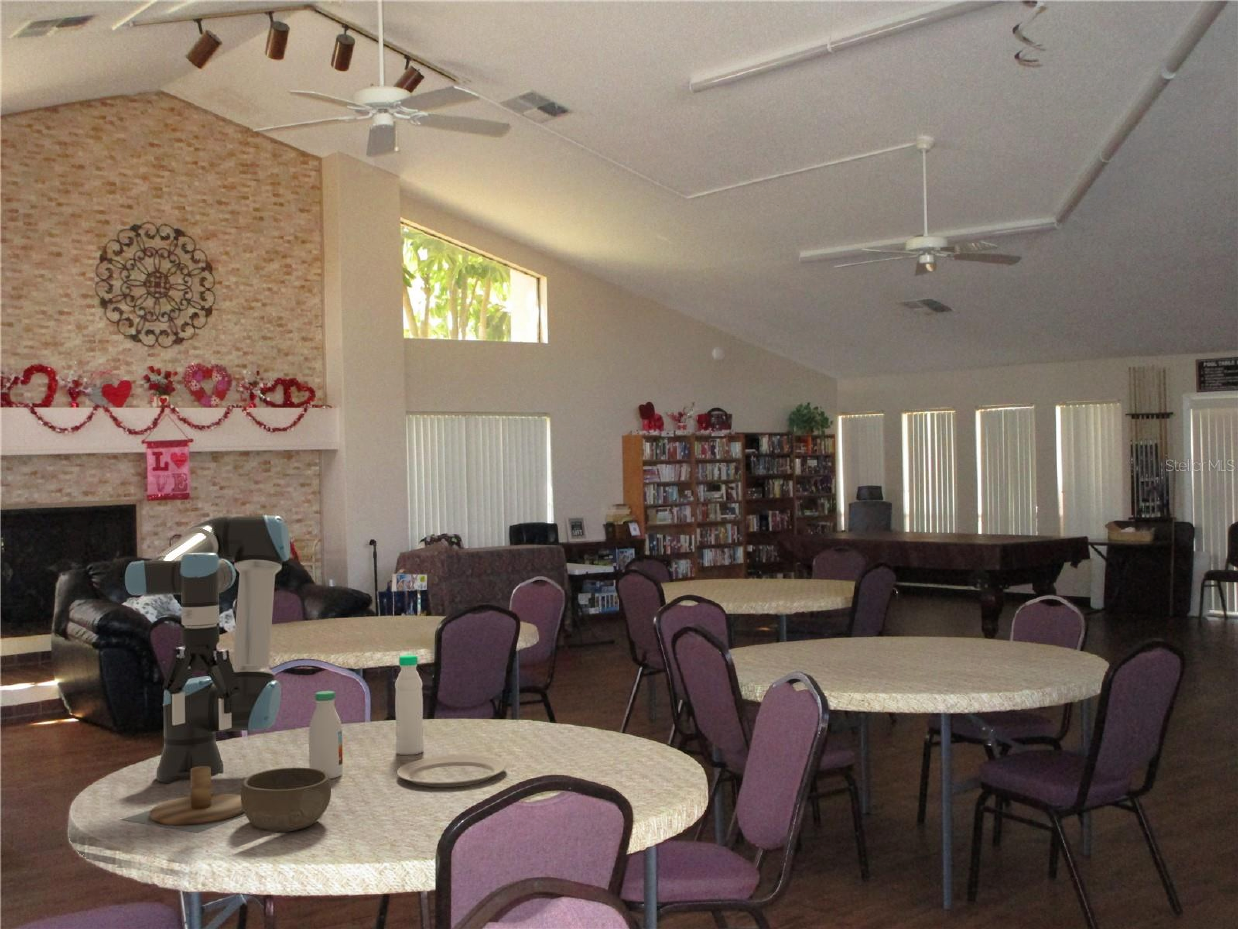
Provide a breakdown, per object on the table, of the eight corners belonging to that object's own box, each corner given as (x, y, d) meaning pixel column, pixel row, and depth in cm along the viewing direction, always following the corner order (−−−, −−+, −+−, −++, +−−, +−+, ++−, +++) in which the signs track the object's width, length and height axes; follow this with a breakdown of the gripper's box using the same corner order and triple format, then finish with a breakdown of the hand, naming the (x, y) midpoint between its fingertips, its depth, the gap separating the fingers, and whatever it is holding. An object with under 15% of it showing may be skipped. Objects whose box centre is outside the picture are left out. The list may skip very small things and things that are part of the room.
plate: (375, 779, 262) (375, 770, 262) (460, 758, 280) (459, 750, 280) (442, 797, 244) (442, 788, 244) (527, 774, 263) (527, 765, 263)
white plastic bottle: (410, 757, 282) (409, 658, 282) (390, 754, 285) (388, 657, 286) (429, 751, 288) (427, 654, 288) (409, 748, 291) (407, 653, 292)
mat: (120, 824, 228) (120, 819, 228) (204, 797, 248) (204, 792, 248) (197, 837, 218) (197, 832, 218) (278, 808, 238) (278, 803, 238)
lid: (128, 819, 229) (127, 775, 229) (204, 794, 247) (203, 753, 247) (197, 830, 220) (197, 785, 220) (271, 804, 238) (270, 762, 238)
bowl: (317, 839, 216) (317, 787, 216) (227, 840, 216) (226, 789, 217) (341, 813, 233) (340, 765, 234) (257, 814, 234) (257, 767, 234)
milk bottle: (333, 780, 260) (332, 695, 260) (303, 779, 261) (302, 695, 262) (348, 772, 267) (347, 689, 268) (318, 771, 269) (317, 689, 269)
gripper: (144, 625, 236) (145, 725, 236) (230, 630, 225) (231, 734, 225) (172, 621, 243) (173, 718, 243) (257, 625, 232) (258, 727, 231)
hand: (201, 726), depth 234 cm, fingers open, 13 cm apart
